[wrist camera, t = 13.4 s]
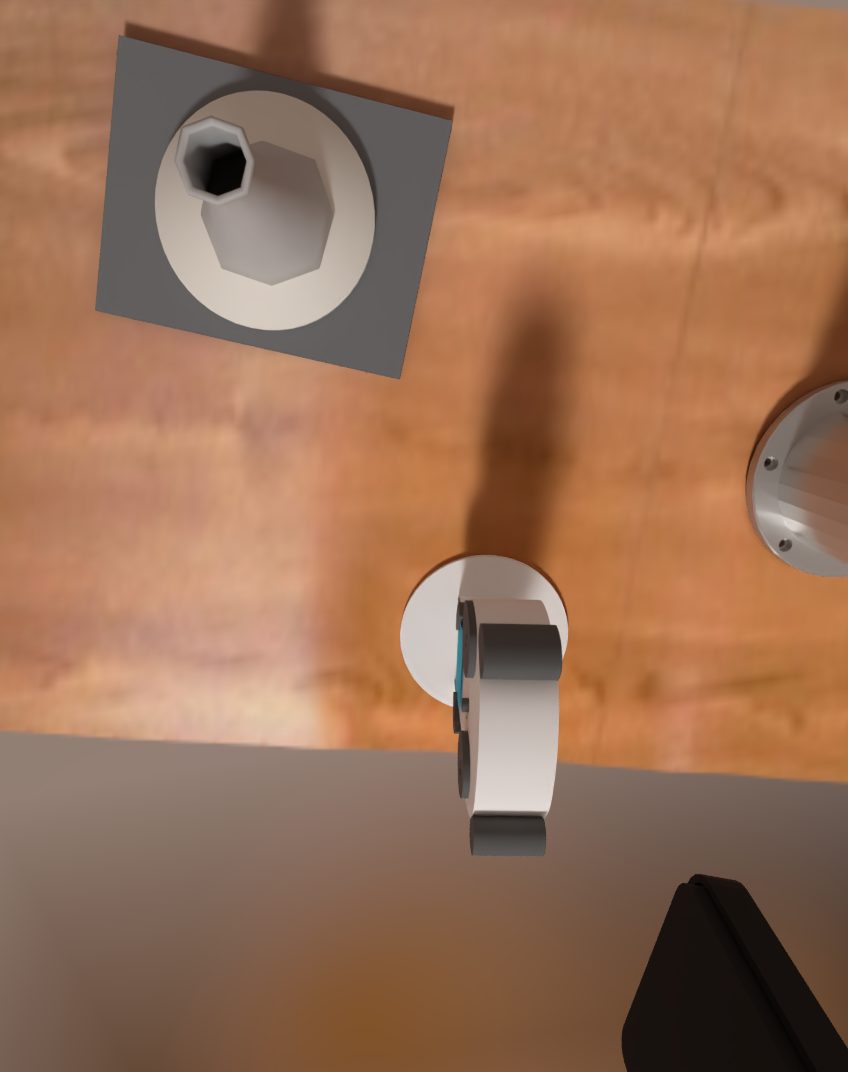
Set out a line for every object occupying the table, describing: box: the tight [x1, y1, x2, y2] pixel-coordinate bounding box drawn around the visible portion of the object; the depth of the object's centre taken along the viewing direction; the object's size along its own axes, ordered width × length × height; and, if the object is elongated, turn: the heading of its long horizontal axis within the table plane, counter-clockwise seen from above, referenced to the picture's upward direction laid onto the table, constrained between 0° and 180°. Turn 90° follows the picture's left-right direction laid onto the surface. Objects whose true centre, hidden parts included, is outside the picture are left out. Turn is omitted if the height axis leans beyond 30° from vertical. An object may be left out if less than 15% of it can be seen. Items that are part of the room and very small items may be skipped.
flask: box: [174, 116, 334, 286], centre depth 30 cm, size 7×7×10 cm
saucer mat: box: [95, 35, 453, 379], centre depth 36 cm, size 18×14×2 cm
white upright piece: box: [400, 555, 568, 856], centre depth 36 cm, size 12×11×15 cm
